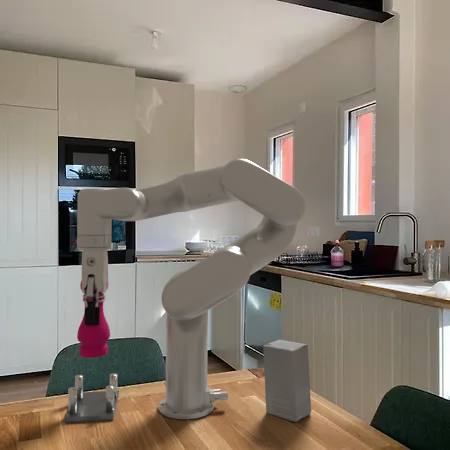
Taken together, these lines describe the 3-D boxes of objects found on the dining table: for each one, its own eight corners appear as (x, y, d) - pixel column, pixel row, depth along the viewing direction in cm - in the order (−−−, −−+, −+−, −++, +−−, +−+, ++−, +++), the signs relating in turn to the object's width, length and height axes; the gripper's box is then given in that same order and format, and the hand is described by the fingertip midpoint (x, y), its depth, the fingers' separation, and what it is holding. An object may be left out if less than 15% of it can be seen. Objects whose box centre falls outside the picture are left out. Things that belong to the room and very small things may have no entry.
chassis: (118, 395, 111) (118, 370, 111) (113, 420, 97) (113, 391, 97) (76, 397, 109) (76, 372, 109) (65, 422, 96) (65, 393, 96)
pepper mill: (100, 359, 99) (101, 268, 99) (70, 357, 100) (71, 267, 100) (115, 350, 106) (115, 265, 106) (87, 348, 107) (87, 264, 107)
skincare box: (311, 414, 100) (312, 343, 100) (293, 425, 95) (293, 350, 95) (280, 404, 106) (281, 337, 106) (261, 413, 101) (262, 342, 101)
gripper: (107, 244, 95) (106, 330, 95) (114, 241, 112) (114, 314, 112) (70, 244, 94) (69, 331, 94) (83, 241, 111) (83, 315, 111)
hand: (94, 321), depth 103 cm, fingers closed on pepper mill, 5 cm apart
